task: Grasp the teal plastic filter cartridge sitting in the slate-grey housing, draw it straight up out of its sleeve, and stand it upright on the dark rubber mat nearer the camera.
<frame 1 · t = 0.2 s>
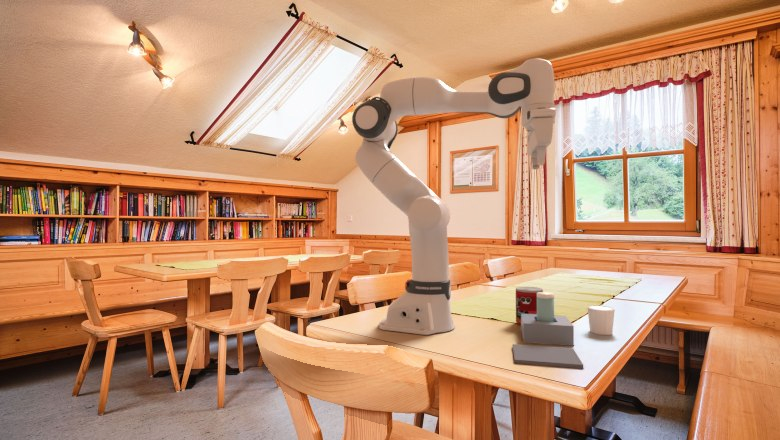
hand: (538, 167, 115), 47 cm above the table, fingers open, 8 cm apart
white cup: (601, 332, 117), on the table
canned food: (529, 324, 126), on the table
mat: (545, 357, 95), on the table
housing: (545, 337, 111), on the table
cartridge: (545, 315, 111), in the housing
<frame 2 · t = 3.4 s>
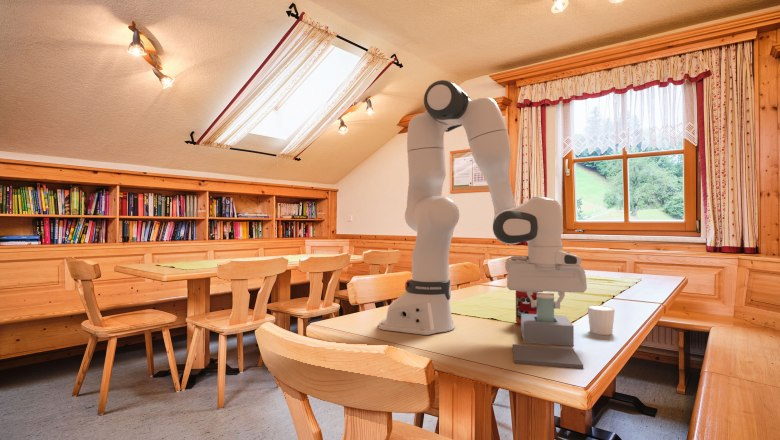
hand: (545, 307, 111), 8 cm above the table, fingers closed on cartridge, 4 cm apart
cartridge: (545, 315, 111), in the housing, touching gripper
everything else where it was.
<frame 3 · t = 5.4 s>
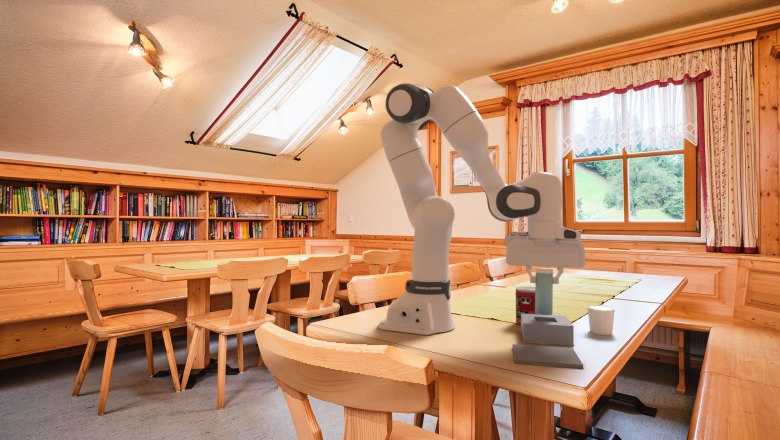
hand: (544, 283, 111), 15 cm above the table, fingers closed on cartridge, 4 cm apart
cartridge: (543, 291, 111), point 13 cm above the table, touching gripper
everything else where it was.
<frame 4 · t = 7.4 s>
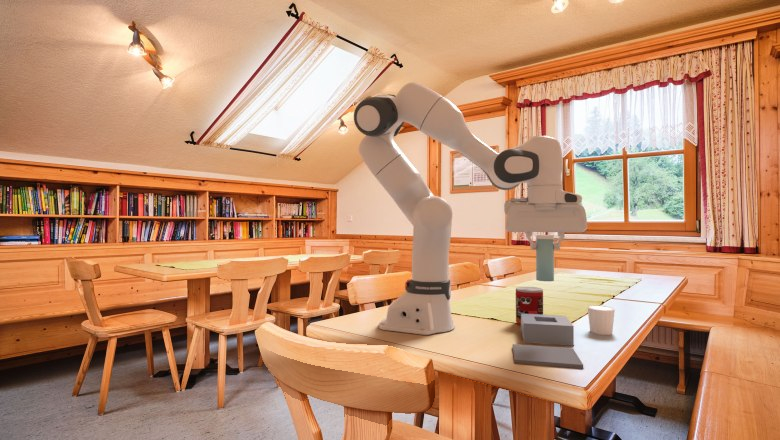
hand: (544, 249, 109), 24 cm above the table, fingers closed on cartridge, 4 cm apart
cartridge: (544, 257, 109), point 22 cm above the table, touching gripper
everything else where it was.
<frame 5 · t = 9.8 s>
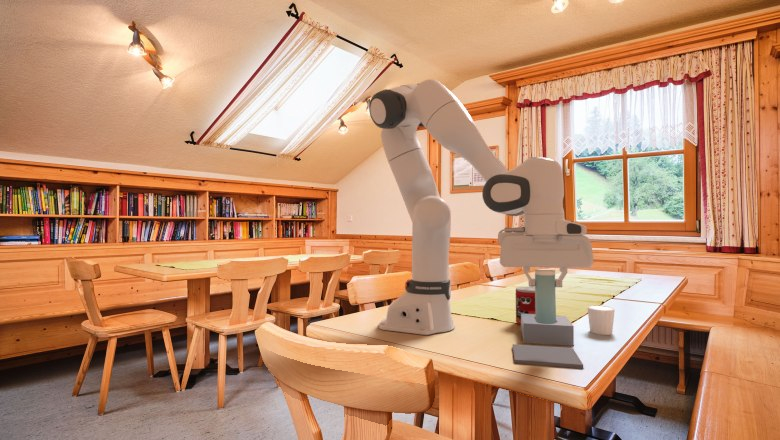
hand: (545, 286, 95), 16 cm above the table, fingers closed on cartridge, 4 cm apart
cartridge: (545, 295, 95), point 14 cm above the table, touching gripper
everything else where it was.
when the fingers open (10 cm above the table, at t = 11.7 s): cartridge drops 1 cm, resting on mat.
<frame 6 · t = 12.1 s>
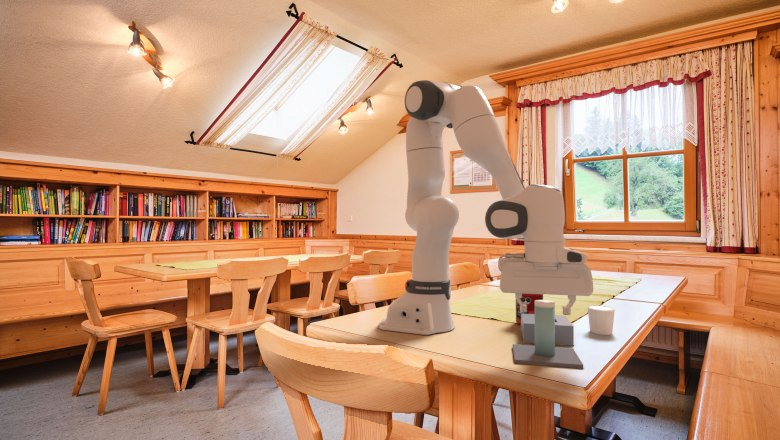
hand: (544, 313, 95), 10 cm above the table, fingers open, 8 cm apart
cartridge: (544, 327, 95), on the mat, point 7 cm above the table
everything else where it was.
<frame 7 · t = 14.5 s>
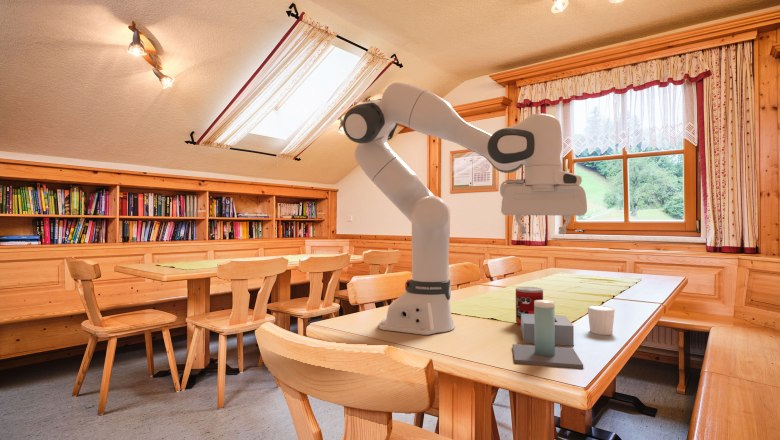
hand: (542, 233, 103), 28 cm above the table, fingers open, 8 cm apart
nothing on the table moved.
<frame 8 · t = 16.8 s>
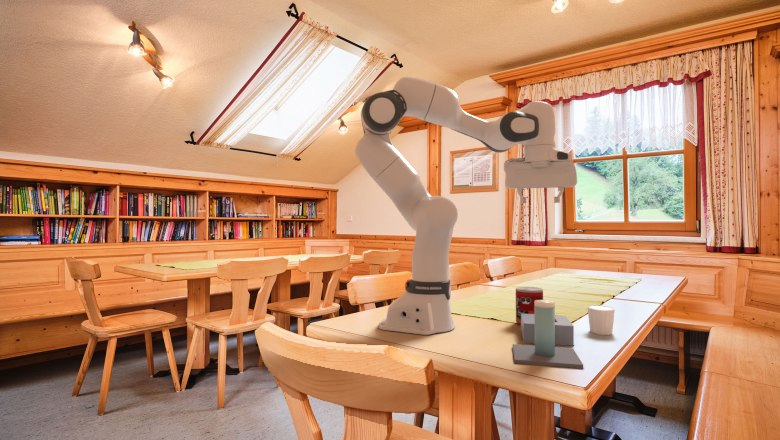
hand: (540, 203, 123), 37 cm above the table, fingers open, 8 cm apart
nothing on the table moved.
at the end: cartridge inside the target area on the mat (0.1 cm from its centre), point 6.8 cm above the mat's base; cartridge tilted 0°; the gripper is holding nothing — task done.
